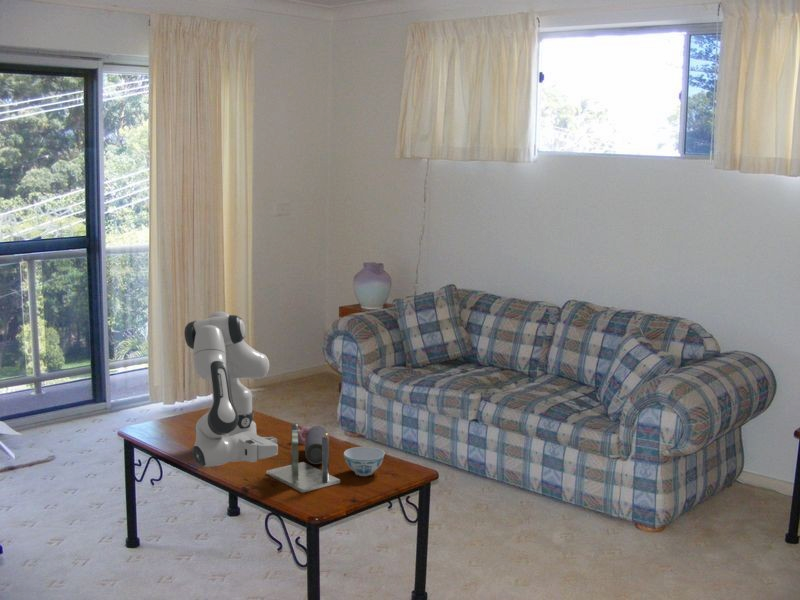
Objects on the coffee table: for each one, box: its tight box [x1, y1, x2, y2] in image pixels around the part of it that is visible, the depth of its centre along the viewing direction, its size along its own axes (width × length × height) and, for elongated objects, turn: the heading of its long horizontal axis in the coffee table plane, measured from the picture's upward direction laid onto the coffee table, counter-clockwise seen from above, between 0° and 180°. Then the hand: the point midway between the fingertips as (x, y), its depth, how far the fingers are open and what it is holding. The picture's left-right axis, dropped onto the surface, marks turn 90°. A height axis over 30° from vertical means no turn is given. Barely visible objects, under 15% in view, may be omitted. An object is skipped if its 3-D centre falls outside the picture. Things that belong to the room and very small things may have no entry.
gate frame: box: [265, 423, 341, 494], centre depth 313 cm, size 24×16×19 cm, turn 40°
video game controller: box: [298, 426, 312, 446], centre depth 357 cm, size 10×5×7 cm, turn 141°
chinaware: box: [343, 446, 385, 477], centre depth 320 cm, size 15×15×8 cm
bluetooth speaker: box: [304, 425, 330, 465], centre depth 336 cm, size 23×9×10 cm, turn 4°
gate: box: [291, 430, 299, 481], centre depth 313 cm, size 16×2×14 cm, turn 8°
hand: (275, 439), depth 303 cm, fingers closed
